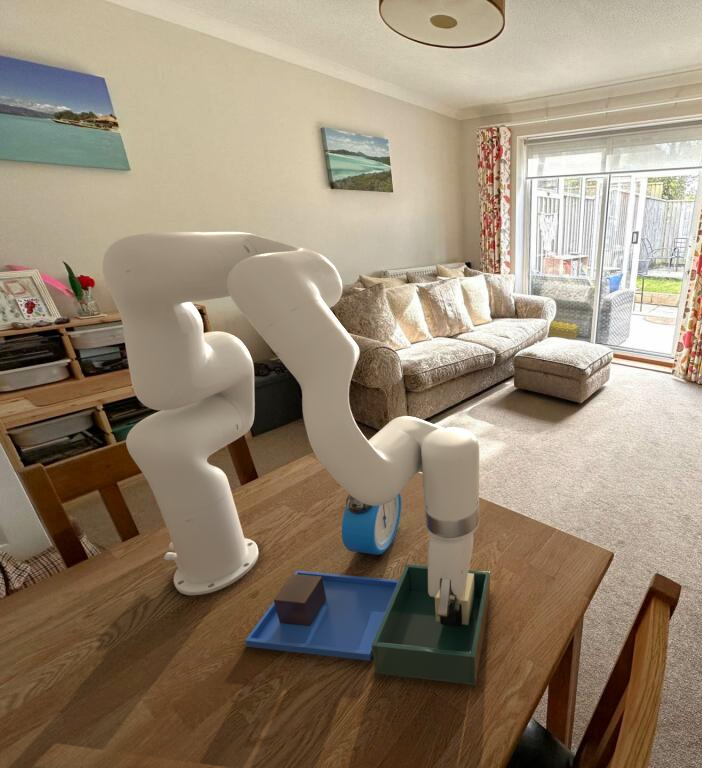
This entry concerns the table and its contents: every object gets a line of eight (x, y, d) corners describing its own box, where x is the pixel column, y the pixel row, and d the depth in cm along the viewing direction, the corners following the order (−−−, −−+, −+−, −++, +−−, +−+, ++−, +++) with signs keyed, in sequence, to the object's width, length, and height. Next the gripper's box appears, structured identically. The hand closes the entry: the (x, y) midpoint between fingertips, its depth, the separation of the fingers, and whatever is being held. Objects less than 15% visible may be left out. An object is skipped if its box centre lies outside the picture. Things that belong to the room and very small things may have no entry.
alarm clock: (376, 571, 73) (367, 504, 68) (344, 567, 74) (333, 500, 69) (404, 522, 85) (398, 462, 80) (377, 519, 86) (369, 459, 81)
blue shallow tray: (247, 648, 60) (244, 640, 59) (298, 577, 72) (296, 570, 71) (370, 662, 58) (369, 654, 58) (401, 587, 70) (401, 580, 70)
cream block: (435, 621, 61) (434, 597, 59) (444, 593, 66) (443, 570, 64) (468, 625, 61) (467, 601, 59) (474, 596, 65) (474, 573, 64)
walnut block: (279, 623, 63) (273, 599, 61) (298, 595, 68) (292, 573, 66) (309, 626, 63) (304, 603, 61) (326, 598, 67) (322, 576, 66)
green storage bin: (375, 675, 57) (371, 645, 54) (408, 590, 70) (406, 563, 68) (475, 686, 56) (474, 657, 53) (489, 598, 69) (490, 571, 67)
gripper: (441, 476, 65) (445, 562, 71) (406, 557, 49) (415, 658, 56) (488, 480, 64) (487, 566, 71) (467, 563, 48) (468, 665, 55)
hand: (455, 606), depth 63 cm, fingers closed on cream block, 5 cm apart
